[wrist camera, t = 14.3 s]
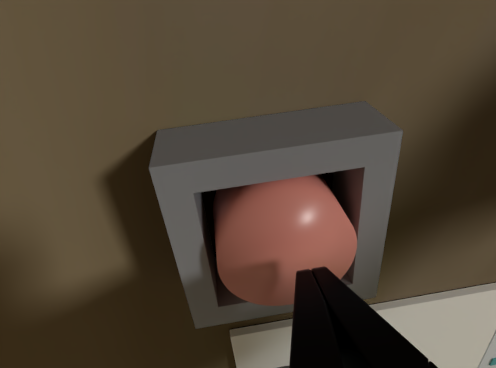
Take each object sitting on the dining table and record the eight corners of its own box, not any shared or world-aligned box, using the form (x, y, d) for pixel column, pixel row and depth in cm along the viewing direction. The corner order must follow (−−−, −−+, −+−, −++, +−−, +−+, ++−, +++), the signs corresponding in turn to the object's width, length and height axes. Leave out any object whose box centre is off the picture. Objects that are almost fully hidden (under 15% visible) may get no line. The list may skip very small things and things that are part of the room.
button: (329, 145, 12) (363, 189, 10) (326, 240, 14) (352, 293, 12) (203, 163, 12) (206, 213, 9) (221, 257, 14) (226, 315, 12)
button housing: (365, 101, 12) (403, 130, 9) (351, 252, 15) (375, 297, 13) (157, 130, 11) (148, 167, 9) (195, 278, 15) (195, 329, 13)
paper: (511, 279, 18) (517, 285, 18) (460, 387, 24) (464, 393, 24) (229, 329, 17) (230, 336, 17) (249, 428, 23) (250, 435, 23)
